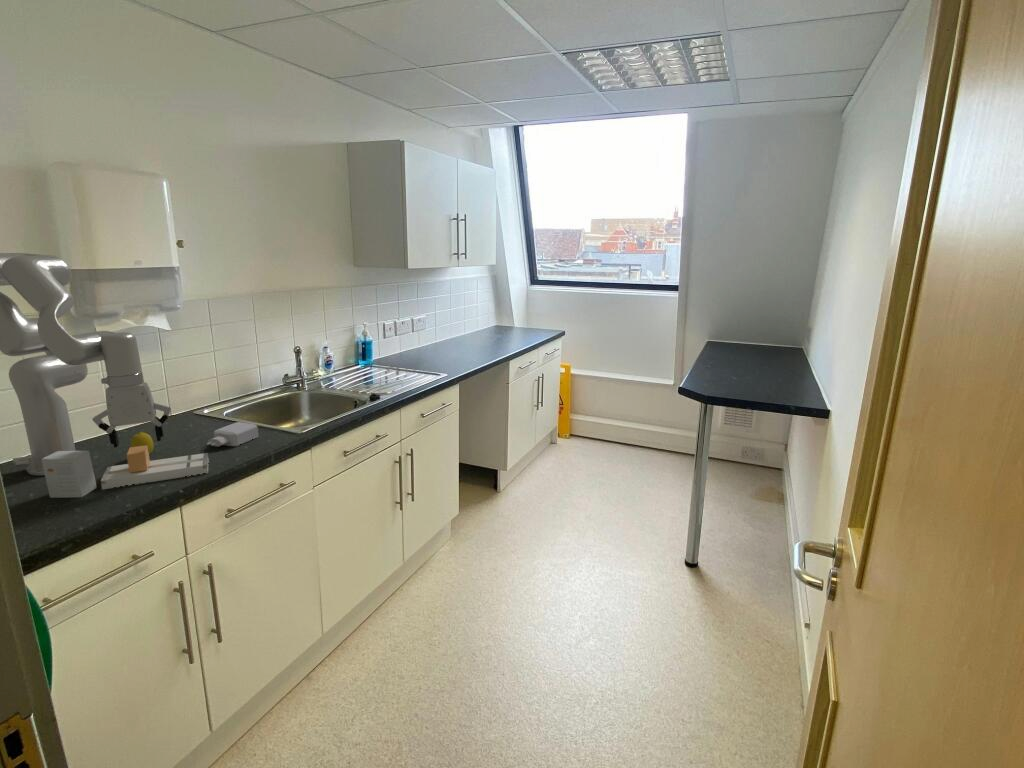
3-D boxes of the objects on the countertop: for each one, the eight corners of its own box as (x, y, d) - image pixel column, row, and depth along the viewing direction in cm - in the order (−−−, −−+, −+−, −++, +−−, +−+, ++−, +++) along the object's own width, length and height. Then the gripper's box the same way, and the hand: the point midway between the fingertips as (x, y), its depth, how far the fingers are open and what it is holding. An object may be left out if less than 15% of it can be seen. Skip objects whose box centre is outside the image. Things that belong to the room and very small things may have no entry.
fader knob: (130, 476, 146) (126, 454, 145) (133, 468, 151) (129, 447, 150) (148, 473, 148) (144, 452, 147) (150, 466, 153) (147, 445, 152)
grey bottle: (198, 450, 170) (236, 434, 184) (221, 454, 168) (258, 438, 181) (196, 435, 169) (235, 421, 183) (220, 439, 166) (257, 424, 180)
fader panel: (102, 489, 142) (100, 480, 142) (109, 475, 151) (107, 466, 150) (207, 473, 153) (206, 464, 152) (208, 460, 162) (207, 452, 161)
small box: (97, 488, 143) (90, 450, 140) (81, 498, 138) (74, 458, 135) (65, 488, 143) (57, 450, 140) (48, 498, 137) (40, 458, 135)
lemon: (151, 452, 167) (147, 427, 165) (158, 457, 164) (154, 431, 162) (130, 458, 163) (125, 432, 161) (136, 462, 160) (132, 436, 158)
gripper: (82, 387, 136) (96, 453, 140) (163, 379, 144) (174, 441, 148) (88, 381, 143) (101, 444, 147) (166, 373, 150) (176, 433, 155)
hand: (138, 442), depth 148 cm, fingers open, 9 cm apart
